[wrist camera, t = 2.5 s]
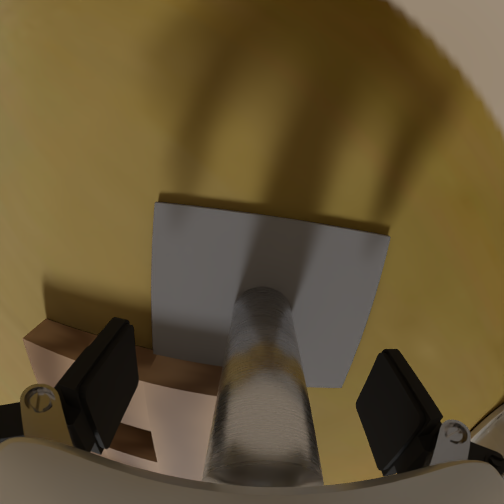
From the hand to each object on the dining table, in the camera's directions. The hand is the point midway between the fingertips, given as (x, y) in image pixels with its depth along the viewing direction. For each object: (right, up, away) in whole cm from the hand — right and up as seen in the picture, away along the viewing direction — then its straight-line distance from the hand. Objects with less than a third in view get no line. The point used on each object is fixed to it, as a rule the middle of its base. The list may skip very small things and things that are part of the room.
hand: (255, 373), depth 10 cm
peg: (0, +1, +5) cm, 5 cm away
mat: (0, +1, +5) cm, 6 cm away
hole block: (-9, -8, +8) cm, 15 cm away
